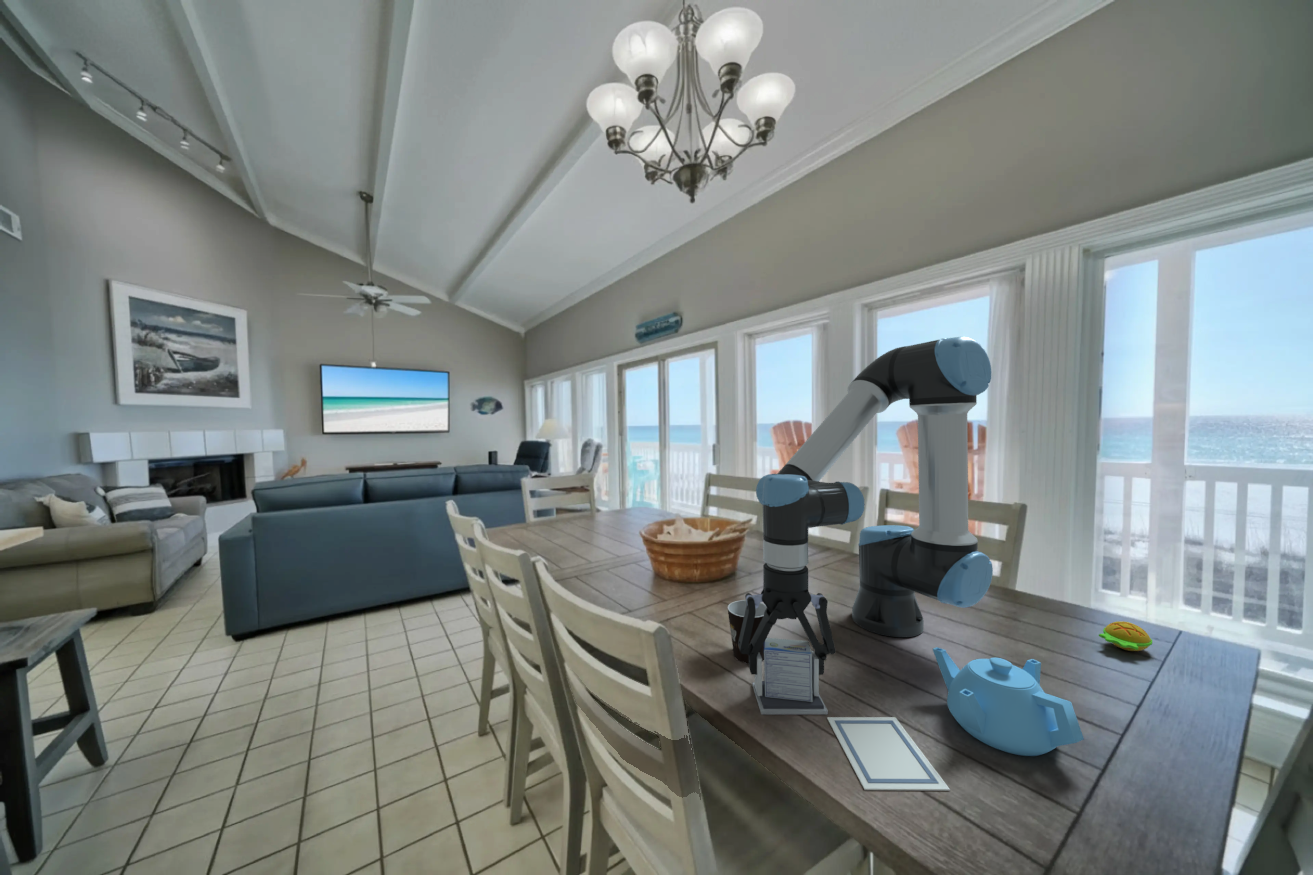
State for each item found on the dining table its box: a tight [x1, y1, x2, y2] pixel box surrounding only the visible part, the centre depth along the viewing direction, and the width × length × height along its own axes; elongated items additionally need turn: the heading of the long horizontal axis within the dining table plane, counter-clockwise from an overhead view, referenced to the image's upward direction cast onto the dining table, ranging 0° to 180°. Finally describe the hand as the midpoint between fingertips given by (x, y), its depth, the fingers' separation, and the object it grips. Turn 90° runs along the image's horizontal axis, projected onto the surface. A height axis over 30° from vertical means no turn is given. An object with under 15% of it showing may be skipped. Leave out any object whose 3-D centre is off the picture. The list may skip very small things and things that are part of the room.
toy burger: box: [1098, 620, 1153, 652], centre depth 90 cm, size 7×10×5 cm
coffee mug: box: [727, 599, 767, 665], centre depth 93 cm, size 12×9×10 cm
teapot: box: [932, 646, 1085, 757], centre depth 68 cm, size 15×15×11 cm
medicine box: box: [763, 637, 813, 702], centre depth 76 cm, size 8×4×9 cm, turn 77°
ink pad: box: [752, 680, 829, 715], centre depth 77 cm, size 11×8×1 cm
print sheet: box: [826, 716, 951, 792], centre depth 64 cm, size 11×14×1 cm
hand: (786, 691), depth 77 cm, fingers open, 9 cm apart
